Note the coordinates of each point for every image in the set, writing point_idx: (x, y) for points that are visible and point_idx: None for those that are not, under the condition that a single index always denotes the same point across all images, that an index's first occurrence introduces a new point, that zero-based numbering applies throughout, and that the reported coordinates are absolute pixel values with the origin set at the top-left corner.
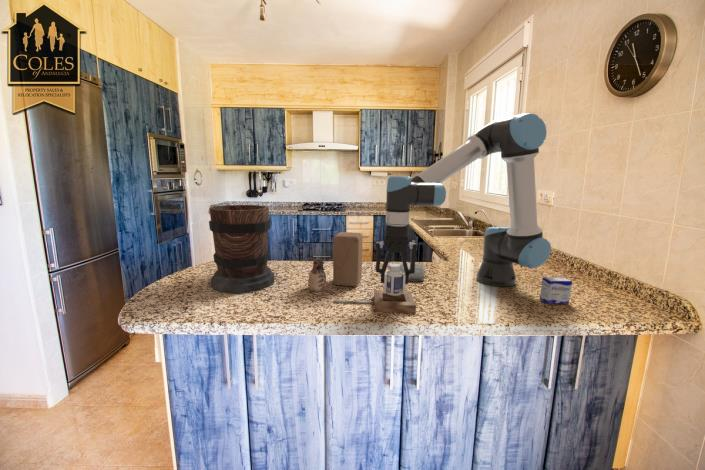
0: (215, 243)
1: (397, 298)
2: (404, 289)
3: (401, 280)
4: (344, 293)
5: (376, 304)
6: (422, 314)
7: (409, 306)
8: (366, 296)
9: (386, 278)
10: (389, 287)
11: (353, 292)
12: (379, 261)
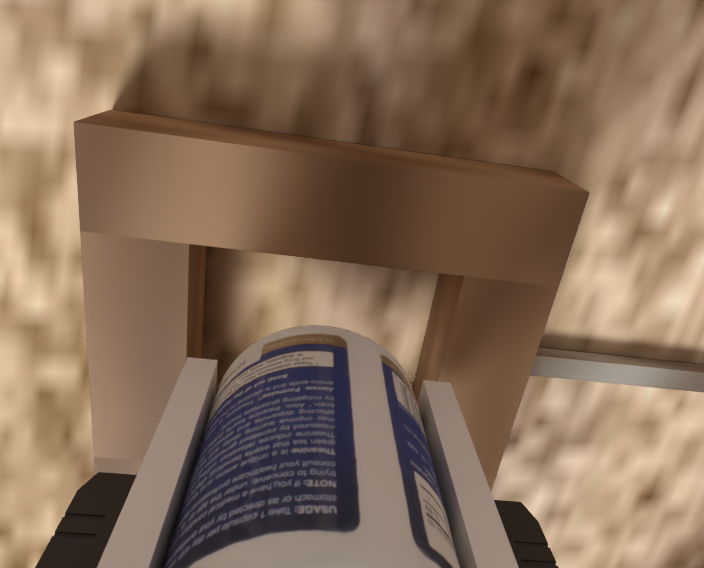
0: None
1: None
2: (176, 397)
3: (199, 502)
4: (685, 545)
5: (572, 189)
6: (33, 63)
7: (167, 131)
8: (523, 494)
9: (479, 552)
10: (405, 413)
11: (605, 562)
12: None
